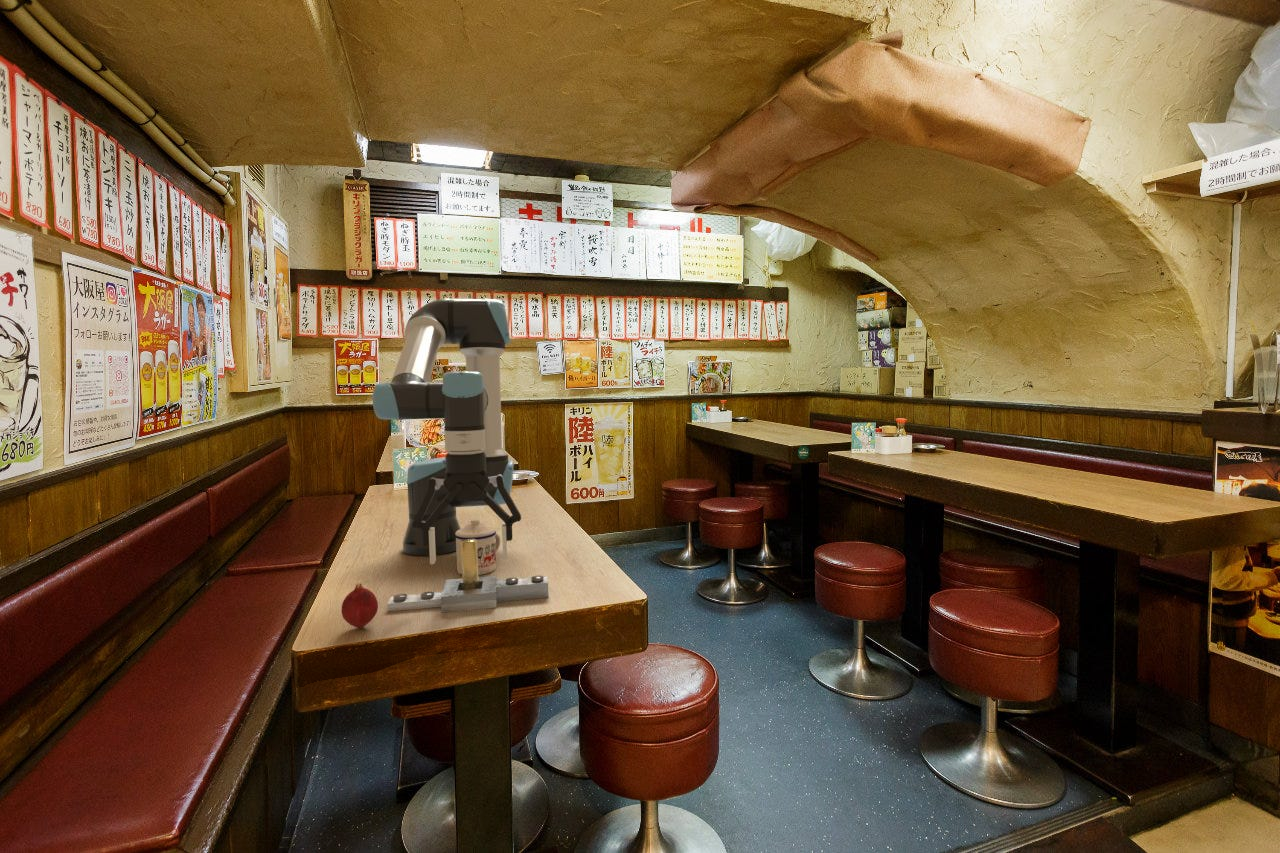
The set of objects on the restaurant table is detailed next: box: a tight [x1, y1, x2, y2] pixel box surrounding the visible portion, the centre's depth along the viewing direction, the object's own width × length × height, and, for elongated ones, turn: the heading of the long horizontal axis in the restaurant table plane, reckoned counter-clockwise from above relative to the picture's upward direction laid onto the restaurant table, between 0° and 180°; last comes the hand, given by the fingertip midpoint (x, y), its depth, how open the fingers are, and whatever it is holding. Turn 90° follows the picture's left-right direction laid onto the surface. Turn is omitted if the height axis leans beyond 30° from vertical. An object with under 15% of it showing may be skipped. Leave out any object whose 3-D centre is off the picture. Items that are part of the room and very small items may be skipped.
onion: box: [341, 582, 379, 629], centre depth 104 cm, size 6×6×8 cm
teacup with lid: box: [455, 518, 501, 576], centre depth 137 cm, size 12×9×12 cm
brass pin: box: [461, 539, 479, 590], centre depth 116 cm, size 3×3×12 cm
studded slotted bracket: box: [386, 575, 549, 613], centre depth 117 cm, size 10×30×4 cm, turn 102°
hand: (469, 559), depth 116 cm, fingers open, 13 cm apart
